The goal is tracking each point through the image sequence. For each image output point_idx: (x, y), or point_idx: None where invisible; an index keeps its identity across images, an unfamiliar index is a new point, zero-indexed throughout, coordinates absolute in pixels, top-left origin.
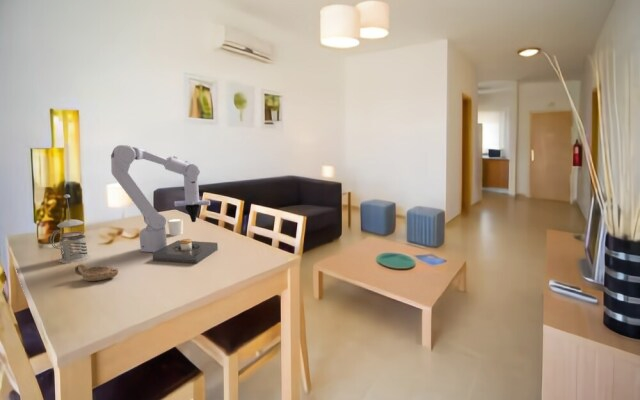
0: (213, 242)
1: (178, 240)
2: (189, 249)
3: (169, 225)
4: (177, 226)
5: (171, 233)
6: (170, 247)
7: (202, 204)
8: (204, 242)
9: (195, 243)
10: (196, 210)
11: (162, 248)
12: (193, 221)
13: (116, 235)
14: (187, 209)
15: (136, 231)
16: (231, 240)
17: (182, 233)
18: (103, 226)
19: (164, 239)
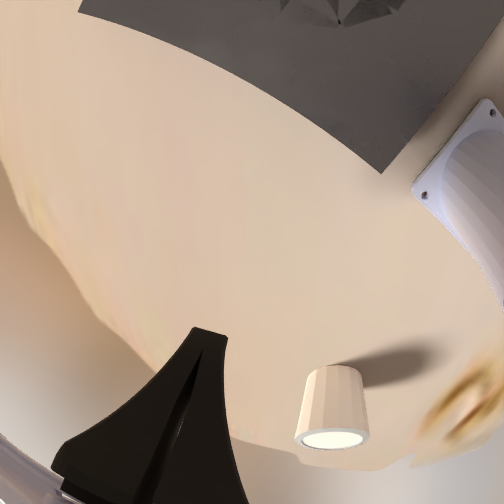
0: (97, 17)
1: (377, 168)
2: None
3: (365, 415)
4: (330, 404)
5: (358, 378)
6: (441, 2)
7: (28, 467)
8: (156, 22)
9: (231, 11)
10: (94, 431)
11: (491, 20)
12: (206, 335)
13: (489, 400)
14: (223, 499)
15: (436, 420)
16: (57, 175)
17: (308, 376)
18: (464, 444)
19: (487, 172)
